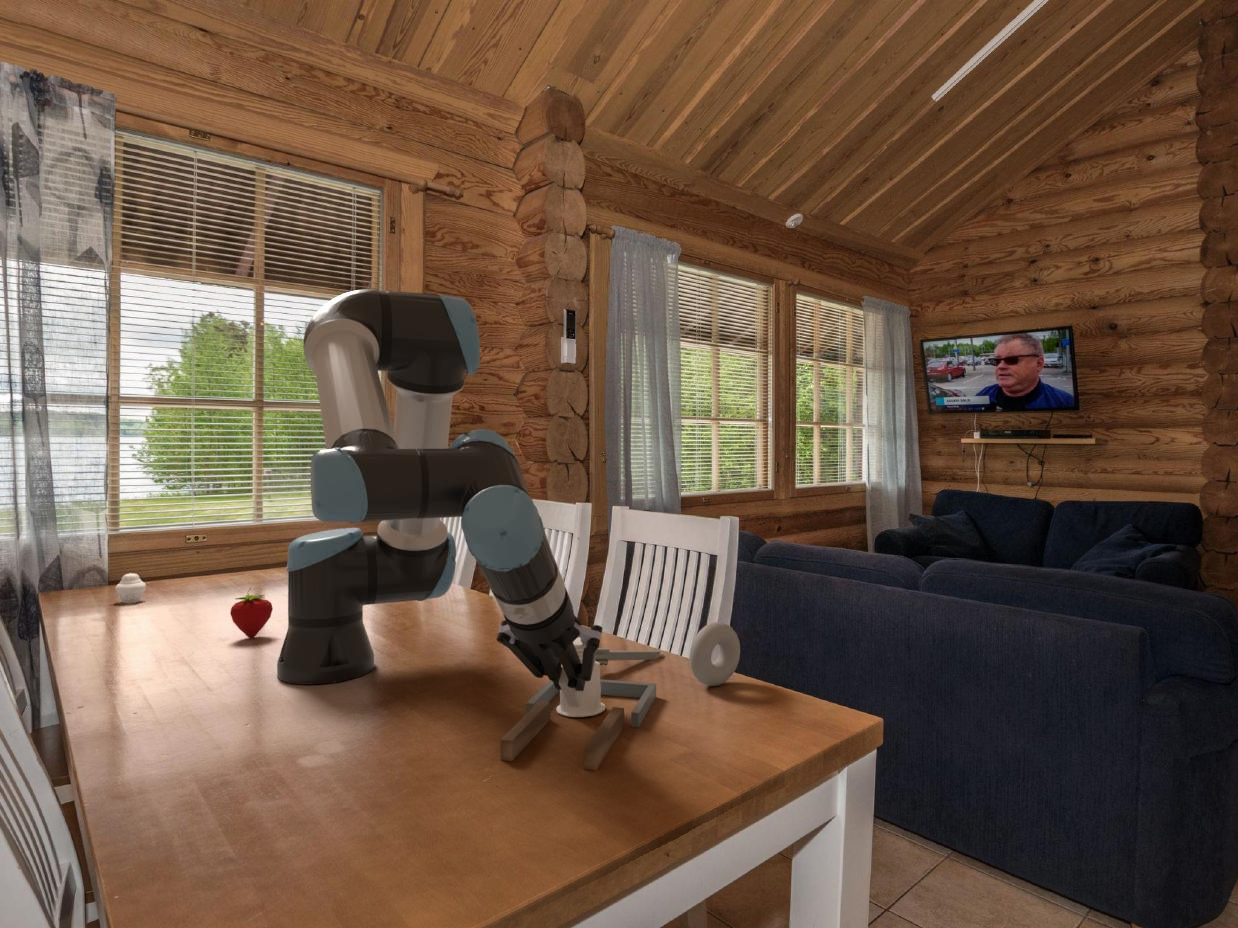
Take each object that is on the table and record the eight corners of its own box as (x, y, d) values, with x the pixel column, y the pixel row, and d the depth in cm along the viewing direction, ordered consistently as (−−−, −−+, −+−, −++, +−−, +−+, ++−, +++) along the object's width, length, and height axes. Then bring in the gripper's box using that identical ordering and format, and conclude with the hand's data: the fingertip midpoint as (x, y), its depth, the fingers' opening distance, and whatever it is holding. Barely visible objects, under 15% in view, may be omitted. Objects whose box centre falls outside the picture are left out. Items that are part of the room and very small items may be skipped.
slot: (500, 759, 92) (500, 739, 92) (539, 718, 105) (539, 700, 105) (596, 770, 89) (596, 749, 89) (624, 726, 102) (624, 707, 102)
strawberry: (276, 637, 148) (275, 586, 148) (234, 644, 143) (233, 591, 143) (269, 631, 152) (268, 582, 152) (227, 637, 148) (226, 586, 148)
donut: (700, 694, 115) (700, 629, 115) (684, 689, 118) (684, 625, 117) (744, 681, 121) (745, 619, 121) (728, 676, 124) (729, 615, 124)
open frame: (526, 717, 106) (526, 702, 106) (555, 688, 118) (555, 675, 118) (638, 727, 102) (638, 712, 102) (656, 696, 114) (656, 683, 114)
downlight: (617, 710, 108) (615, 640, 108) (580, 723, 103) (577, 650, 103) (581, 699, 114) (579, 632, 114) (544, 710, 109) (542, 641, 109)
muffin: (123, 605, 176) (122, 575, 176) (110, 602, 179) (109, 573, 179) (151, 601, 181) (150, 571, 181) (138, 598, 185) (138, 569, 184)
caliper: (575, 682, 121) (576, 644, 121) (571, 681, 122) (571, 642, 122) (665, 658, 135) (665, 623, 135) (660, 656, 136) (660, 622, 136)
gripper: (469, 624, 83) (523, 720, 100) (583, 631, 80) (619, 728, 97) (488, 568, 88) (537, 668, 105) (596, 573, 85) (628, 675, 102)
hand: (576, 697), depth 101 cm, fingers closed
